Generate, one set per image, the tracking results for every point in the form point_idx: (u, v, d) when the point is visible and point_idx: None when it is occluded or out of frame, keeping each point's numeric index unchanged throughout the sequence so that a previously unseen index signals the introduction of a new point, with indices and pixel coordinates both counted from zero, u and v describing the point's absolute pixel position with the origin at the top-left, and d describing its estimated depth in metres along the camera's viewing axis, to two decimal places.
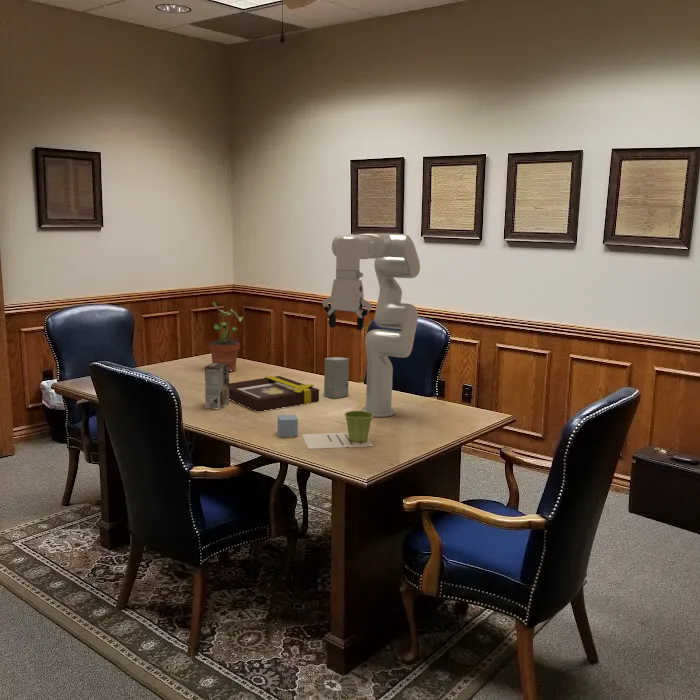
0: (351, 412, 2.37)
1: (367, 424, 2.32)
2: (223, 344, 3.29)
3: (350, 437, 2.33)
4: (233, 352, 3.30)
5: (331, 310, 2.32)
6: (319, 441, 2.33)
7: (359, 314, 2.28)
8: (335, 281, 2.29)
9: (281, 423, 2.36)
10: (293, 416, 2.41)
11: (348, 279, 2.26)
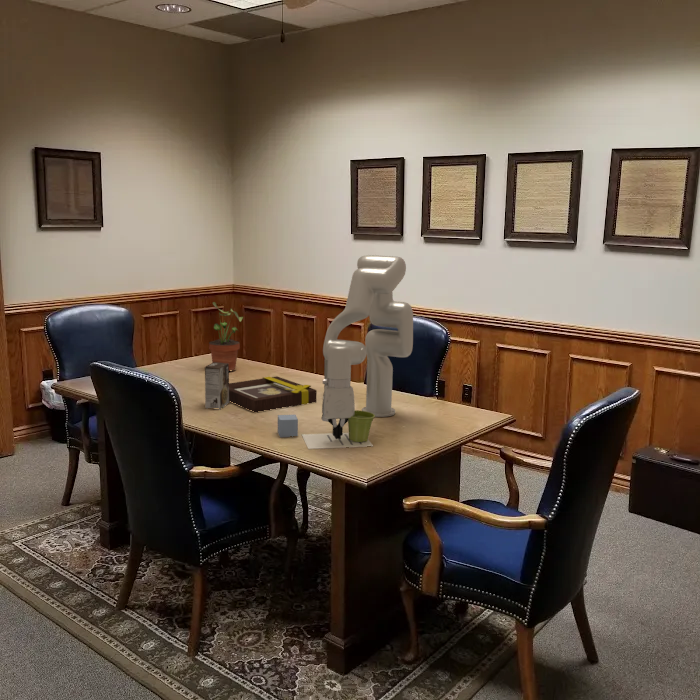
0: None
1: (368, 424, 2.32)
2: (223, 344, 3.29)
3: (350, 436, 2.33)
4: (233, 352, 3.30)
5: None
6: (319, 441, 2.33)
7: None
8: None
9: (281, 423, 2.36)
10: (293, 416, 2.41)
11: None
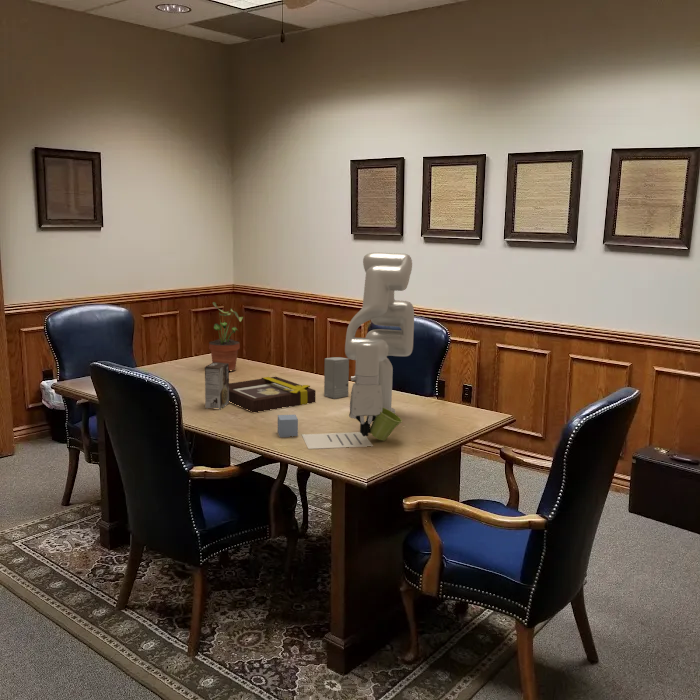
0: (382, 408, 2.38)
1: (393, 427, 2.33)
2: (223, 344, 3.29)
3: (371, 430, 2.34)
4: (233, 352, 3.30)
5: None
6: (319, 441, 2.33)
7: None
8: None
9: (281, 423, 2.36)
10: (293, 416, 2.41)
11: None
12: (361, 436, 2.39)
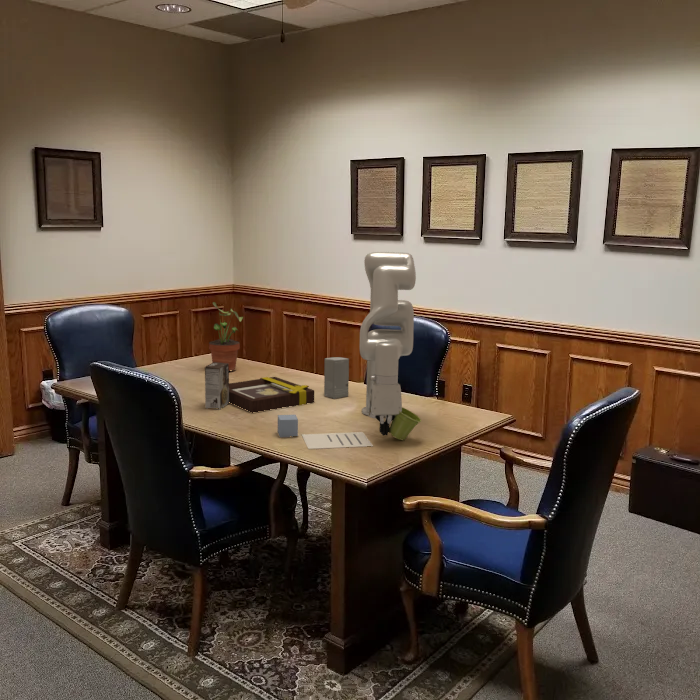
0: None
1: (412, 426, 2.34)
2: (223, 344, 3.29)
3: (391, 430, 2.35)
4: (233, 352, 3.30)
5: None
6: (319, 441, 2.33)
7: None
8: None
9: (281, 423, 2.36)
10: (293, 416, 2.41)
11: None
12: (361, 436, 2.39)
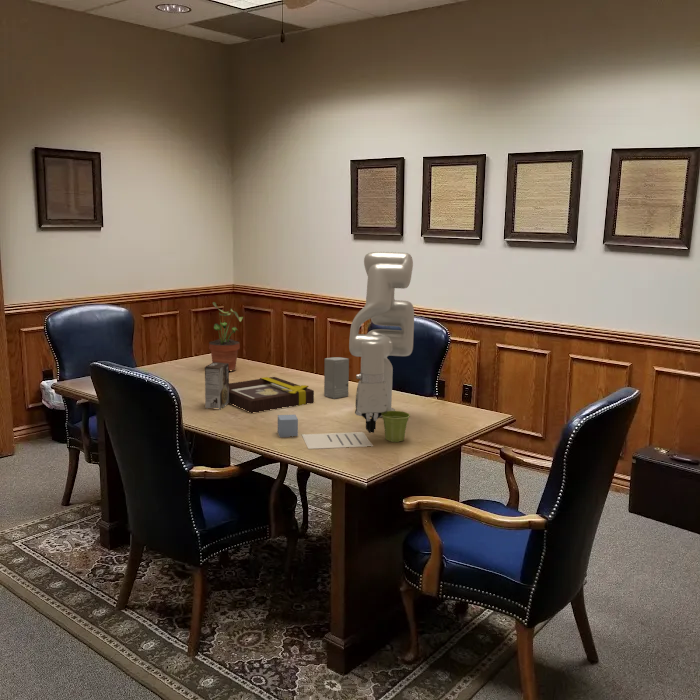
0: (388, 412, 2.40)
1: (403, 424, 2.34)
2: (223, 344, 3.29)
3: (386, 437, 2.36)
4: (233, 352, 3.30)
5: None
6: (319, 441, 2.33)
7: None
8: None
9: (281, 423, 2.36)
10: (293, 416, 2.41)
11: None
12: (361, 436, 2.39)
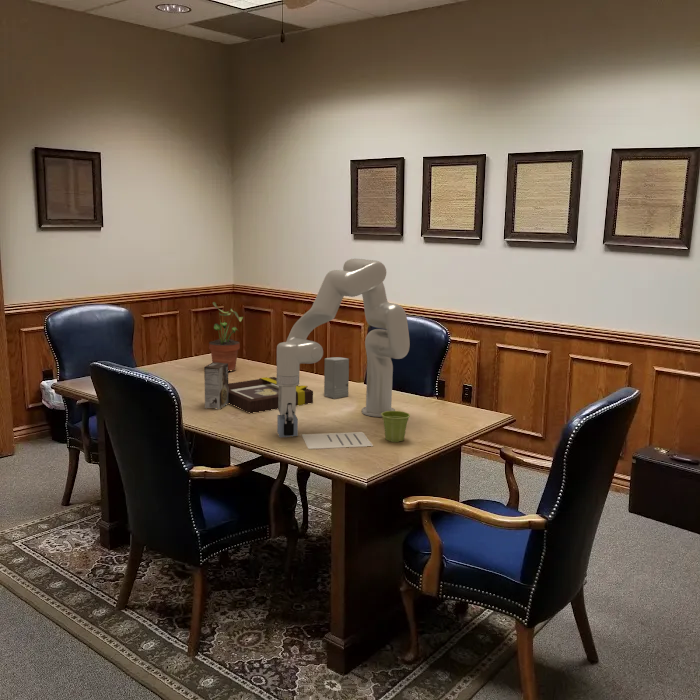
0: (388, 412, 2.40)
1: (403, 424, 2.34)
2: (223, 344, 3.29)
3: (386, 437, 2.36)
4: (233, 352, 3.30)
5: None
6: (319, 441, 2.33)
7: None
8: (295, 387, 2.35)
9: (281, 423, 2.36)
10: (293, 416, 2.41)
11: None
12: (361, 436, 2.39)
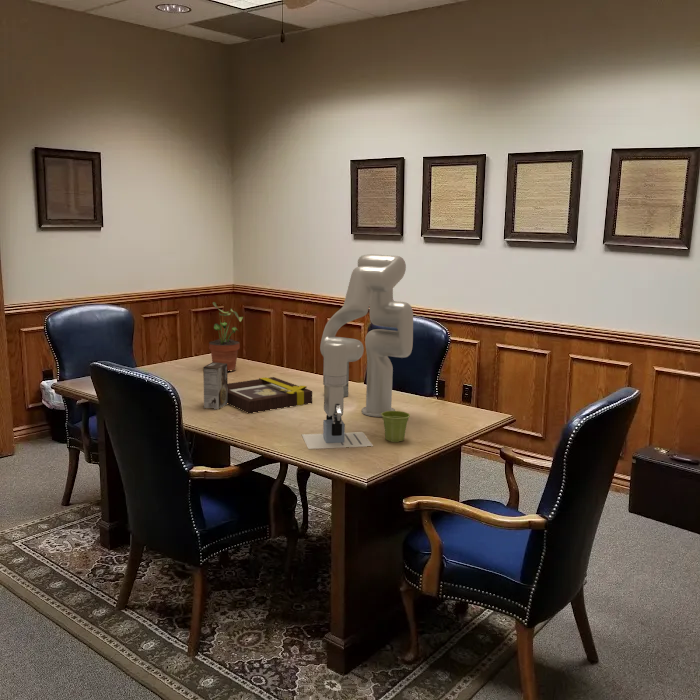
0: (388, 412, 2.40)
1: (403, 424, 2.34)
2: (223, 344, 3.29)
3: (386, 437, 2.36)
4: (233, 352, 3.30)
5: None
6: (319, 441, 2.33)
7: None
8: None
9: (328, 428, 2.31)
10: None
11: None
12: (361, 436, 2.39)
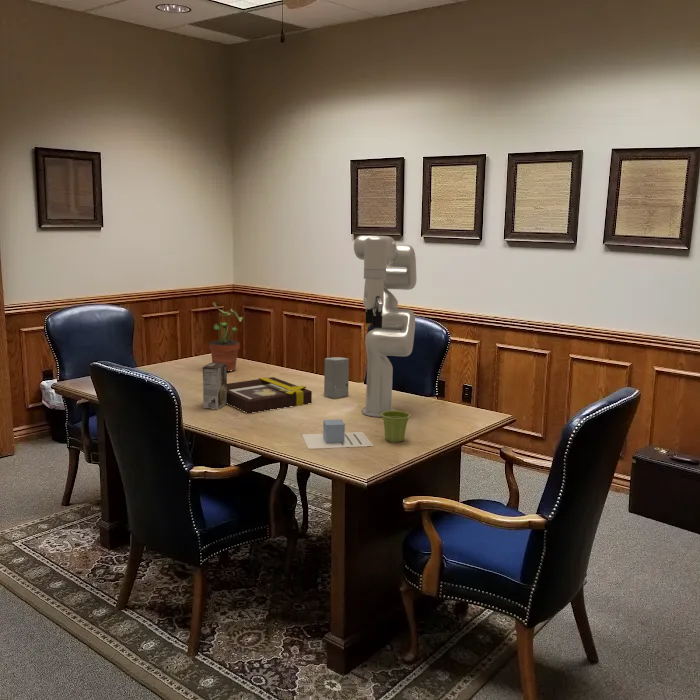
0: (388, 412, 2.40)
1: (403, 424, 2.34)
2: (223, 344, 3.29)
3: (386, 437, 2.36)
4: (233, 352, 3.30)
5: None
6: (319, 441, 2.33)
7: None
8: (383, 281, 2.36)
9: (328, 428, 2.31)
10: (339, 421, 2.35)
11: None
12: (361, 436, 2.39)
